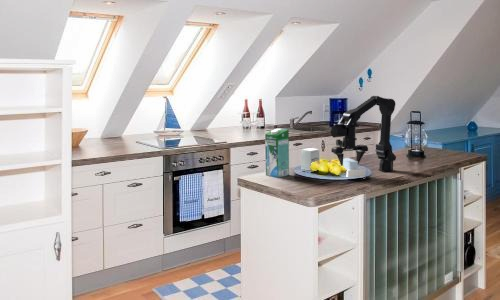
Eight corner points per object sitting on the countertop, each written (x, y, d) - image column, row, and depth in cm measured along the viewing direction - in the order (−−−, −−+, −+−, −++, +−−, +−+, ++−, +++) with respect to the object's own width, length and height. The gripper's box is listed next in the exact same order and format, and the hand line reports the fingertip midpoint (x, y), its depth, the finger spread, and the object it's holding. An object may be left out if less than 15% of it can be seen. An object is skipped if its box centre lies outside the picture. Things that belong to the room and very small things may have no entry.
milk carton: (265, 175, 262) (264, 129, 258) (277, 172, 268) (276, 127, 264) (278, 177, 256) (277, 131, 251) (289, 174, 262) (288, 129, 257)
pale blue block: (357, 170, 250) (357, 161, 249) (350, 171, 249) (350, 161, 248) (348, 167, 260) (348, 157, 259) (341, 167, 259) (341, 158, 258)
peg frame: (334, 174, 261) (334, 165, 260) (350, 172, 264) (350, 163, 263) (347, 180, 246) (348, 170, 245) (365, 178, 249) (365, 169, 248)
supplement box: (310, 173, 264) (310, 150, 262) (300, 171, 269) (300, 149, 267) (319, 171, 268) (319, 149, 266) (310, 169, 274) (309, 147, 272)
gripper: (358, 132, 261) (357, 160, 264) (326, 135, 256) (326, 163, 259) (368, 135, 251) (368, 164, 254) (336, 137, 246) (336, 167, 248)
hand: (349, 165), depth 254 cm, fingers open, 9 cm apart
